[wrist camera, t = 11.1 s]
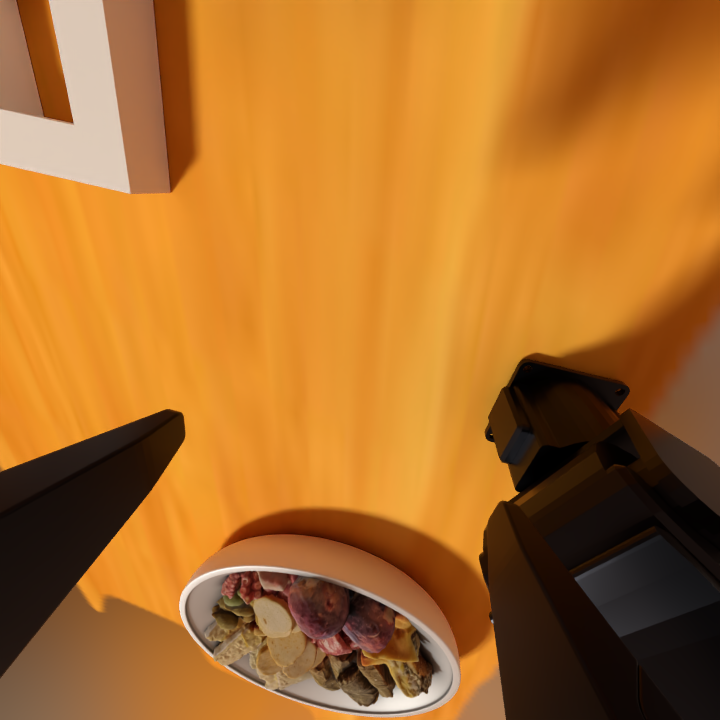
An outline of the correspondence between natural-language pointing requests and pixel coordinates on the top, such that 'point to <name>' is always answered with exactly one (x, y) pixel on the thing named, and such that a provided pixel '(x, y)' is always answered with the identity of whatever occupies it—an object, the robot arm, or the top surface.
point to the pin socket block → (88, 97)
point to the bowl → (323, 626)
